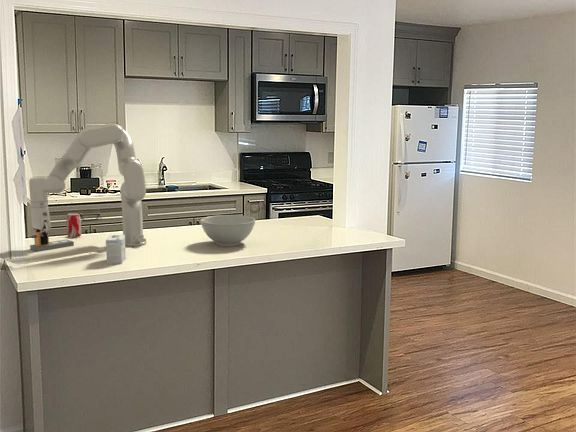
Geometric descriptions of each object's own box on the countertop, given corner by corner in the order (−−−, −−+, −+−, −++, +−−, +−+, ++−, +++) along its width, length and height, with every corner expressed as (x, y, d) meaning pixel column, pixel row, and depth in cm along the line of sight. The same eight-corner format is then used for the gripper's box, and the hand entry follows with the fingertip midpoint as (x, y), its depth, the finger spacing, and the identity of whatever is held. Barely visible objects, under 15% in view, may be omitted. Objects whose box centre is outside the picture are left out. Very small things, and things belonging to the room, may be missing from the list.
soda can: (77, 238, 332) (75, 215, 330) (64, 237, 334) (63, 214, 332) (84, 235, 339) (82, 213, 337) (71, 235, 340) (70, 212, 338)
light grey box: (110, 258, 291) (109, 234, 289) (126, 258, 291) (125, 234, 289) (106, 264, 280) (105, 239, 278) (122, 264, 281) (121, 239, 279)
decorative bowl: (219, 236, 339) (219, 213, 337) (264, 241, 328) (264, 217, 325) (190, 246, 315) (189, 221, 313) (237, 251, 304) (237, 226, 302)
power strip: (74, 248, 309) (73, 241, 308) (37, 255, 296) (37, 247, 296) (66, 246, 314) (66, 239, 313) (30, 252, 301) (30, 244, 300)
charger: (49, 249, 302) (48, 232, 300) (34, 251, 297) (33, 234, 295) (45, 247, 304) (44, 230, 303) (30, 250, 299) (29, 233, 298)
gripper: (55, 205, 294) (58, 245, 298) (38, 201, 306) (41, 239, 309) (40, 207, 289) (42, 247, 292) (23, 203, 301) (25, 242, 304)
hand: (41, 243), depth 301 cm, fingers open, 4 cm apart
